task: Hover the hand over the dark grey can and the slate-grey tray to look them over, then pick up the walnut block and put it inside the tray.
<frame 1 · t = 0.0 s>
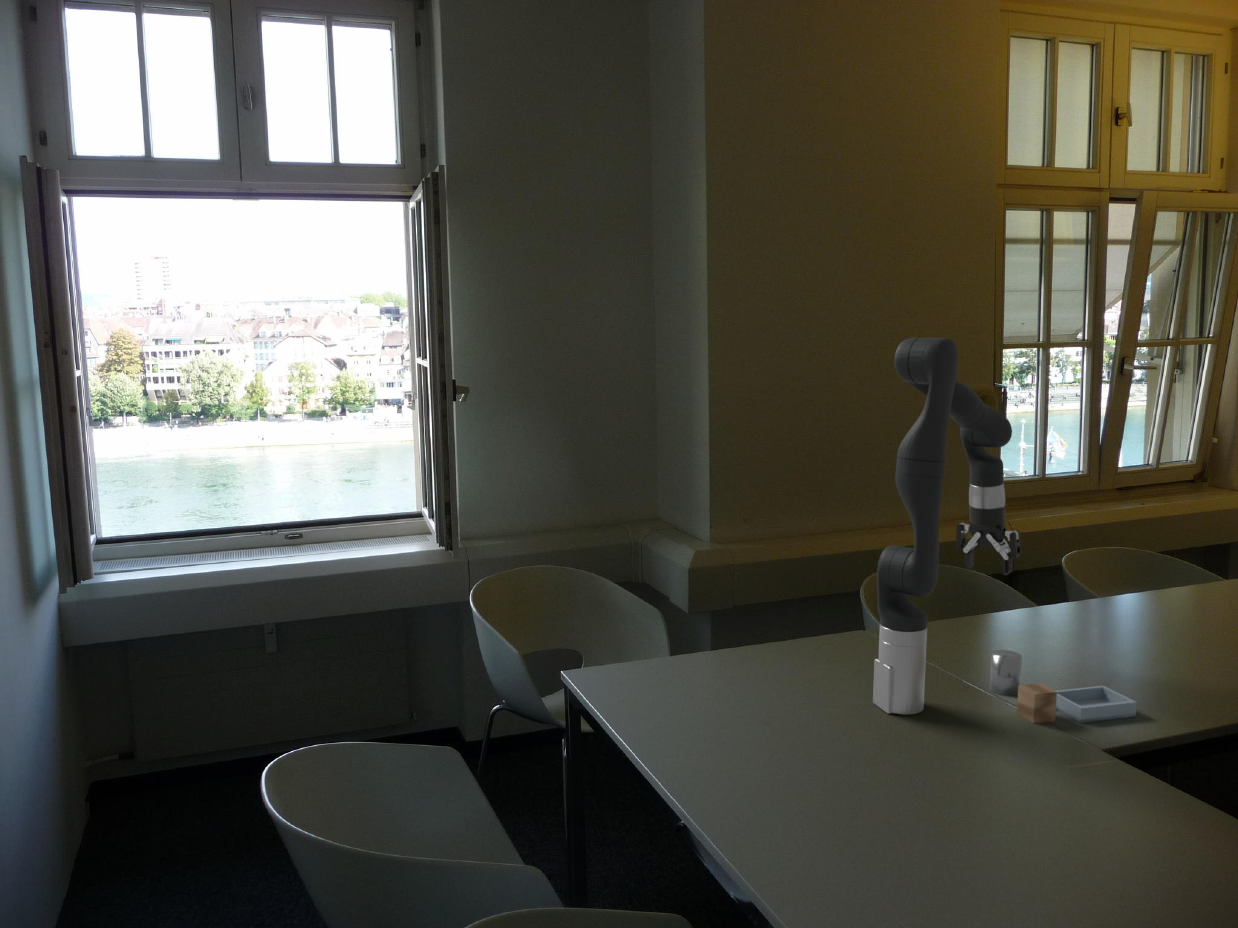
hand: (988, 570, 216), 22 cm above the table, tool pointing down, fingers open, 8 cm apart
slate tray: (1091, 710, 192), on the table
walnut block: (1035, 717, 189), on the table
grey can: (1004, 690, 203), on the table
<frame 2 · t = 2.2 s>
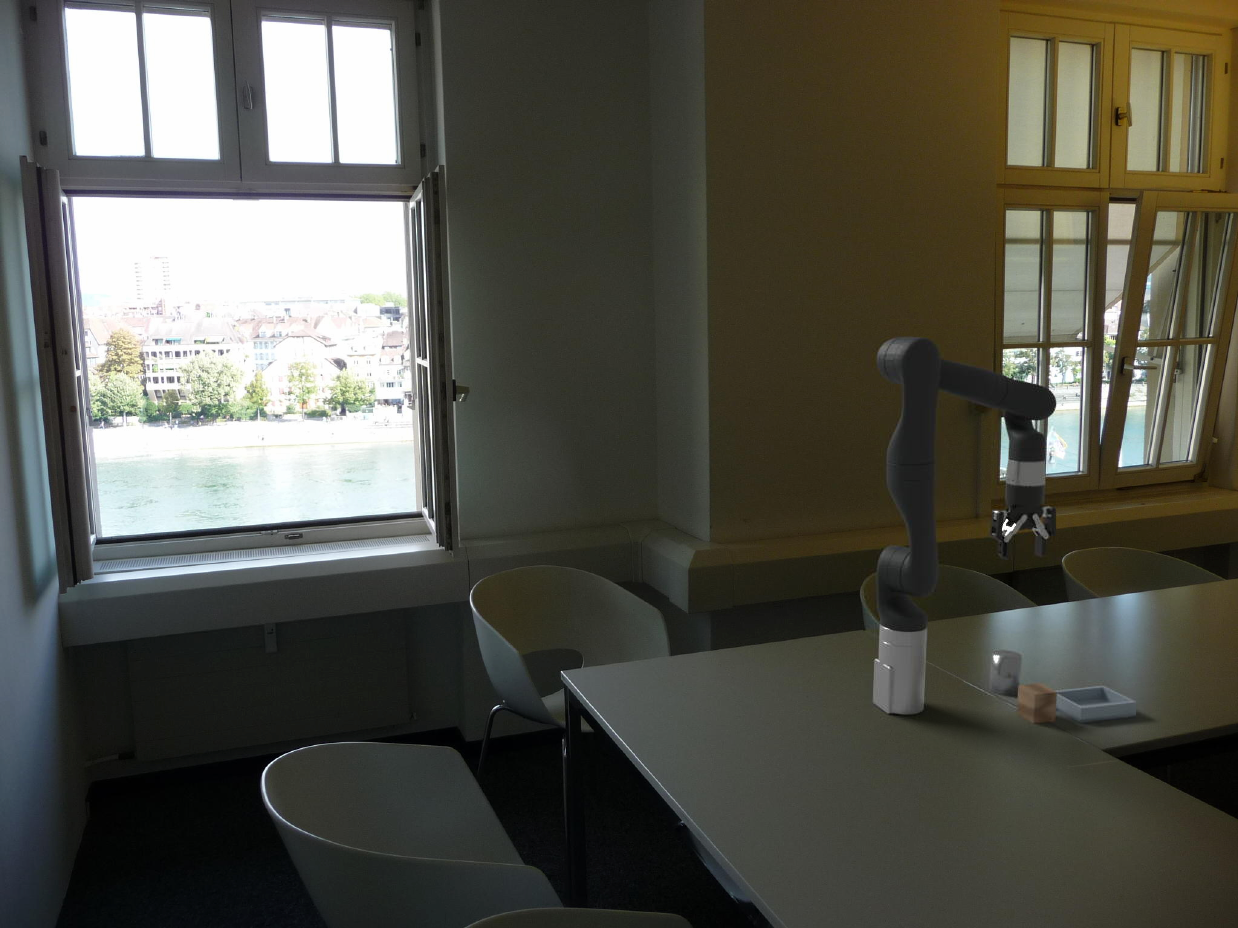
hand: (1021, 557, 200), 29 cm above the table, tool pointing down, fingers open, 8 cm apart
nothing on the table moved.
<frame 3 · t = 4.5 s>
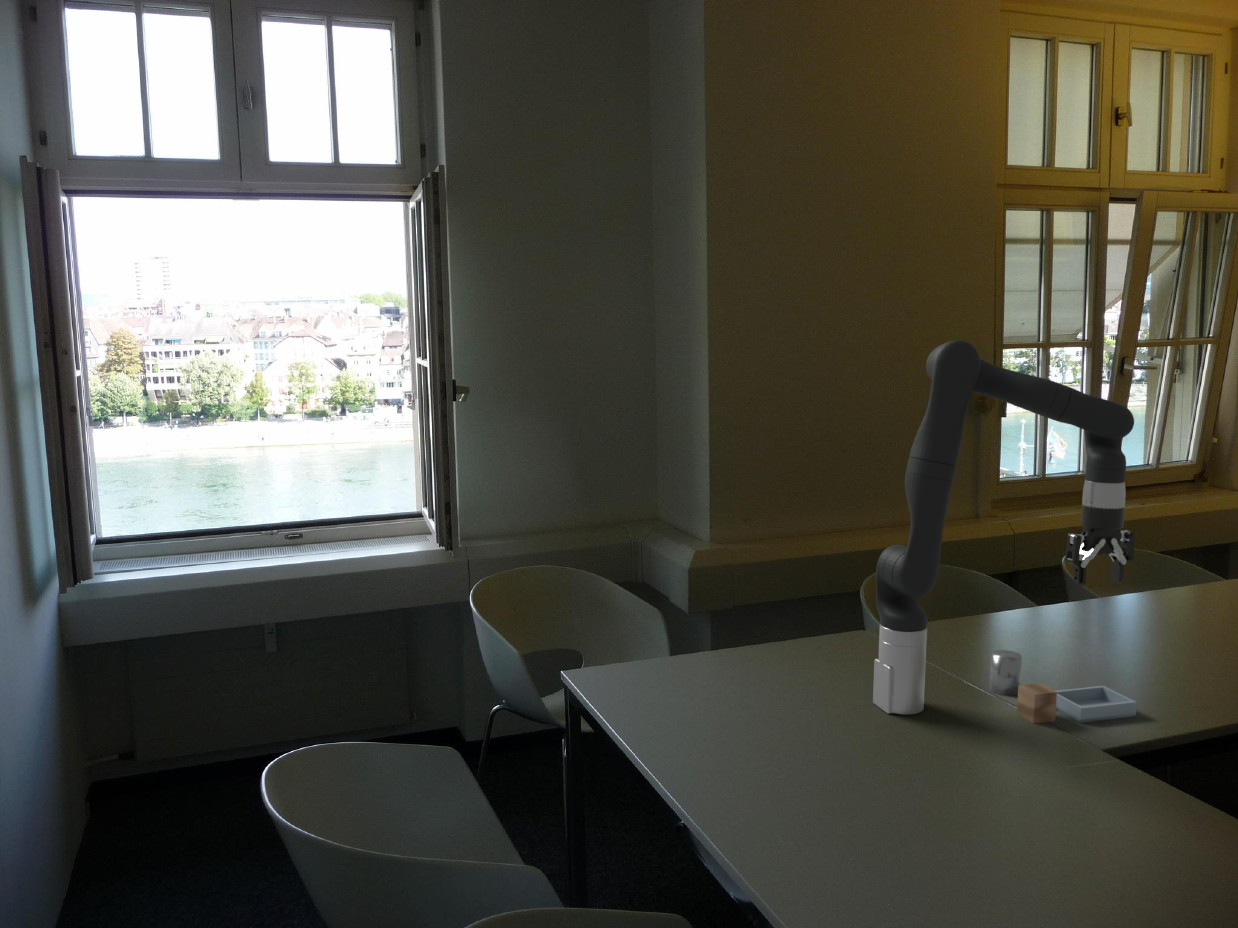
hand: (1098, 583, 189), 26 cm above the table, tool pointing down, fingers open, 8 cm apart
nothing on the table moved.
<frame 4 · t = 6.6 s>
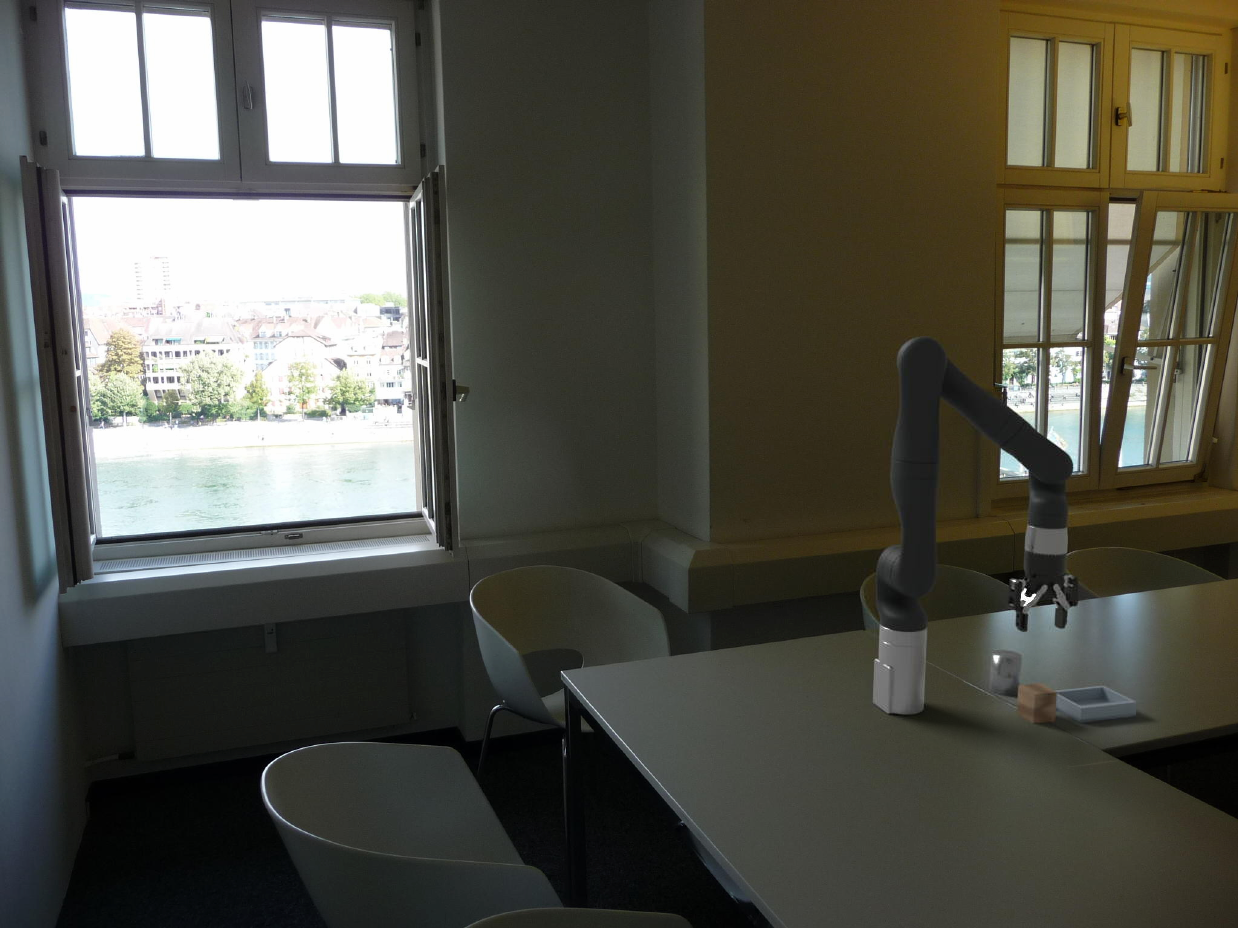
hand: (1041, 629, 186), 18 cm above the table, tool pointing down, fingers open, 8 cm apart
nothing on the table moved.
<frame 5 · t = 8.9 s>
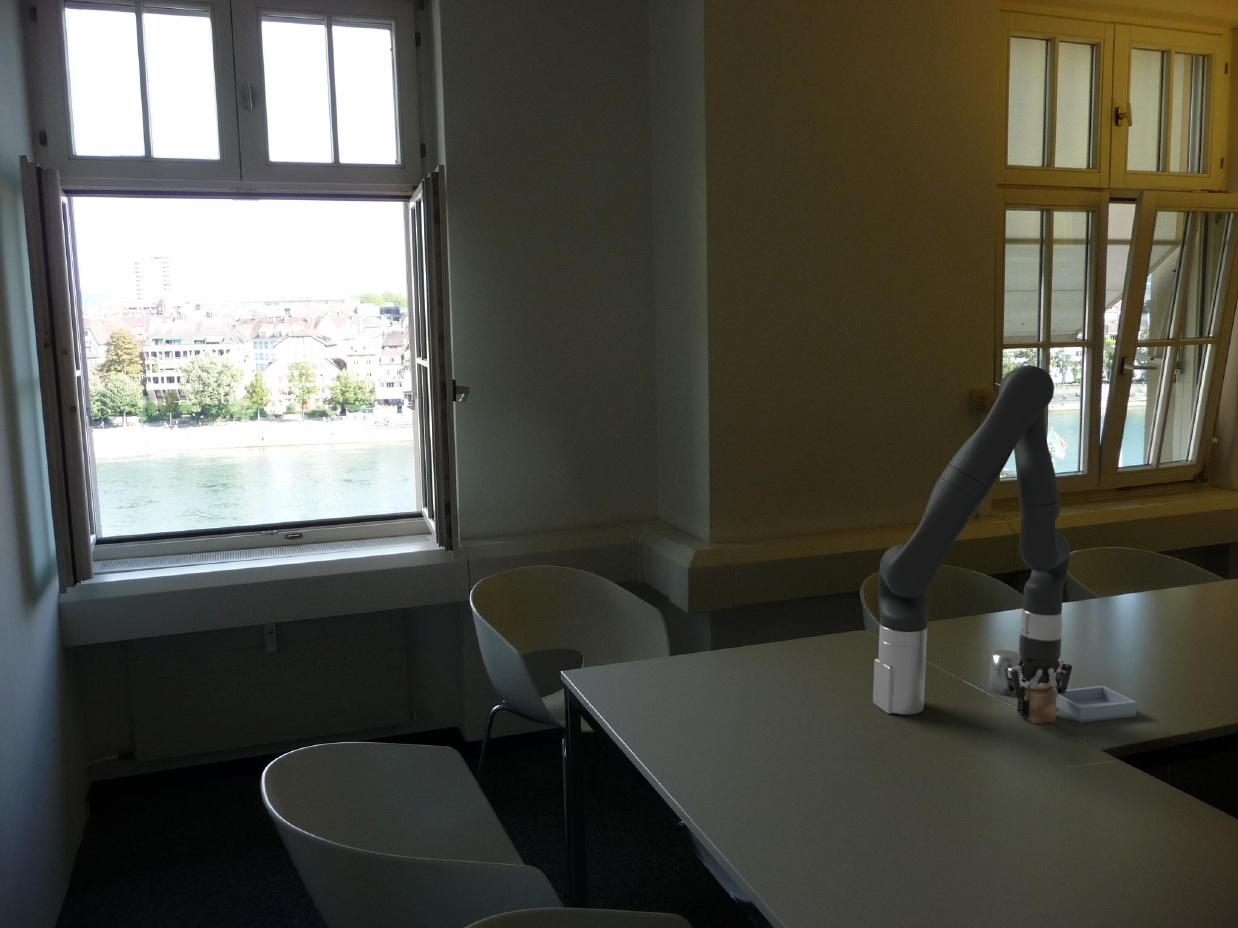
hand: (1035, 714, 189), 0 cm above the table, tool pointing down, fingers closed on walnut block, 5 cm apart
walnut block: (1035, 717, 189), on the table, touching gripper
everything else where it was.
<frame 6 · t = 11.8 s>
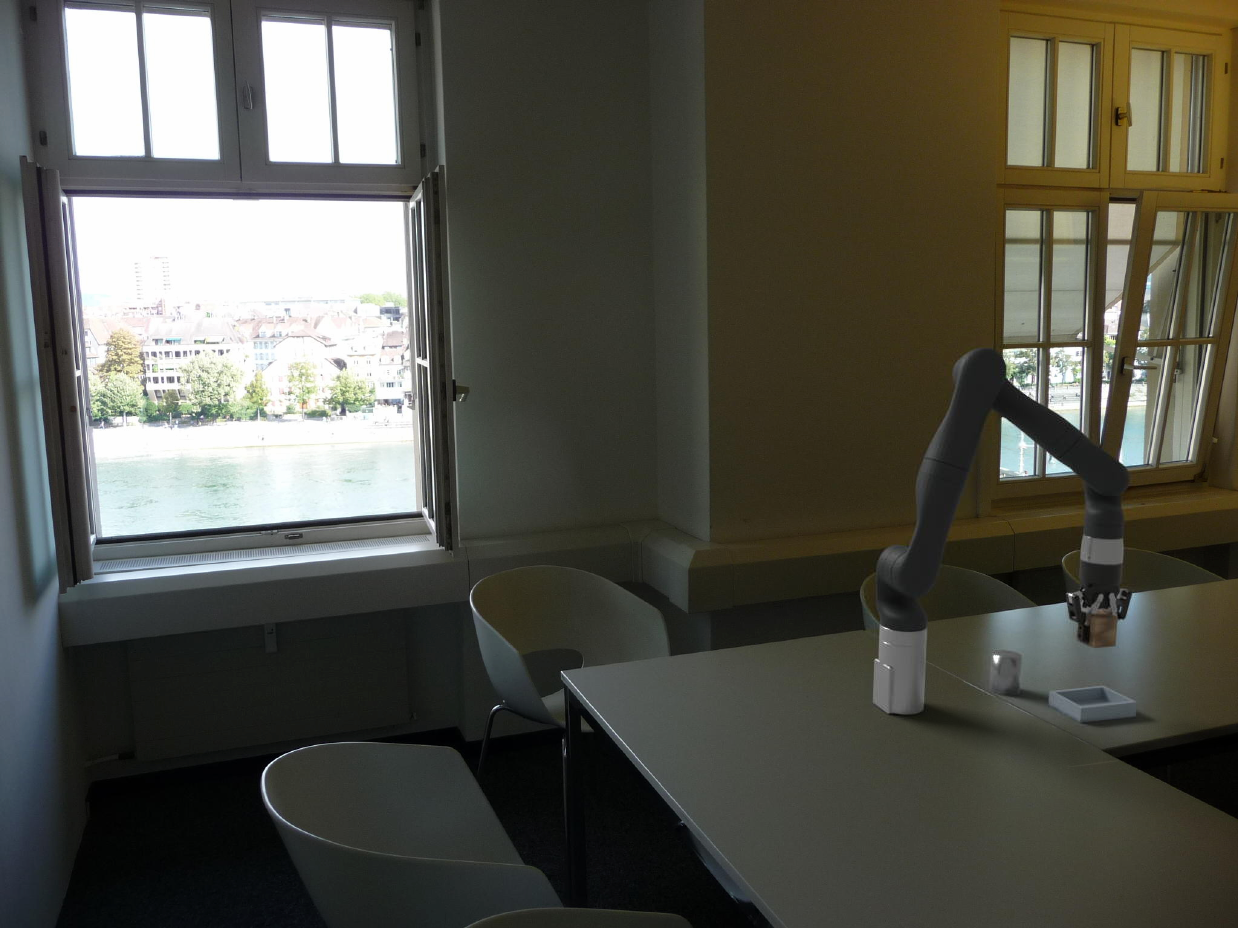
hand: (1096, 640, 190), 15 cm above the table, tool pointing down, fingers closed on walnut block, 5 cm apart
walnut block: (1095, 643, 190), point 14 cm above the table, touching gripper
everything else where it was.
when the fingers open (3 cm above the table, at t = 14.7 s): walnut block drops 2 cm, resting on slate tray.
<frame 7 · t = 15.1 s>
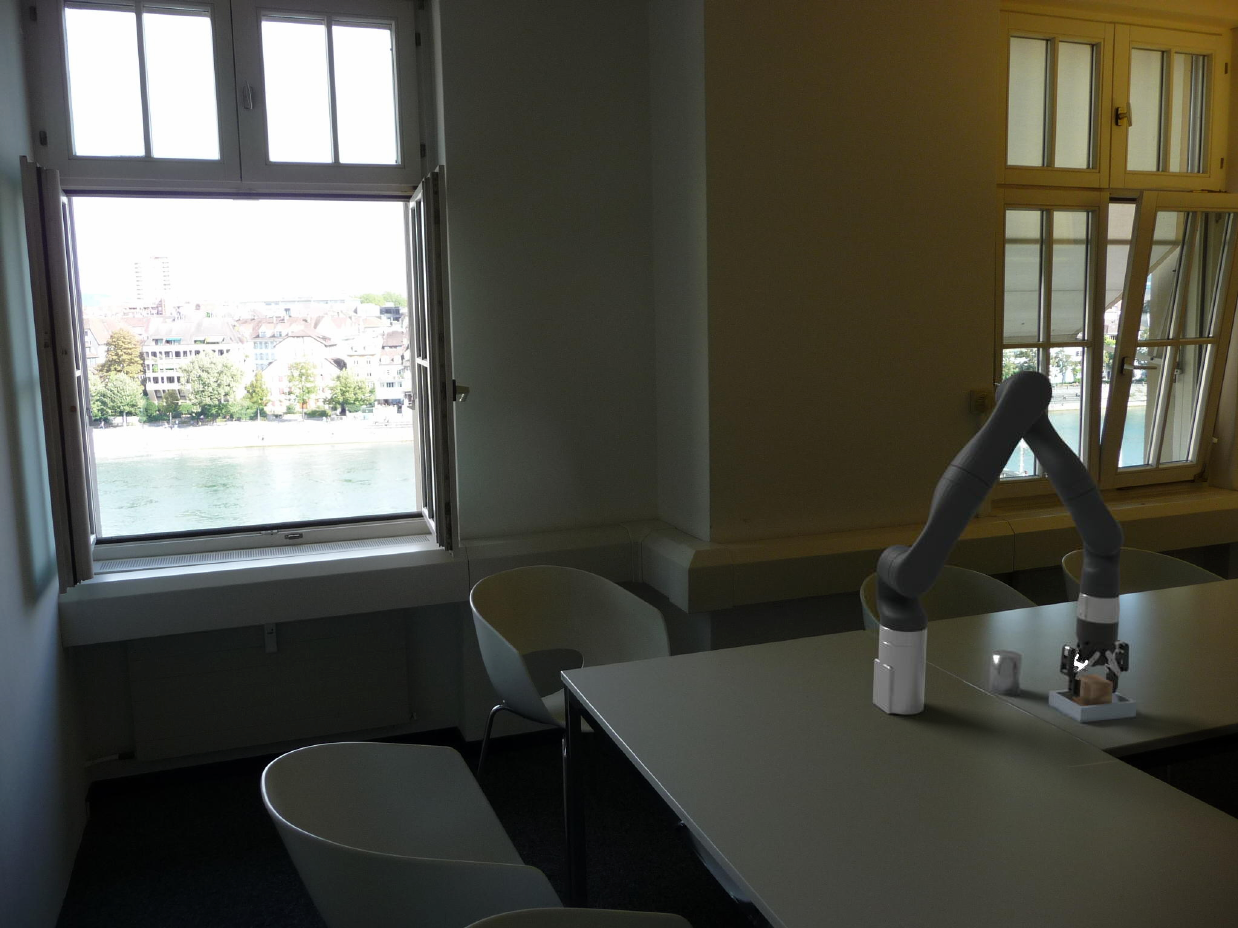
hand: (1092, 693, 192), 4 cm above the table, tool pointing down, fingers open, 8 cm apart
walnut block: (1091, 707, 192), point 1 cm above the table, touching slate tray
everything else where it was.
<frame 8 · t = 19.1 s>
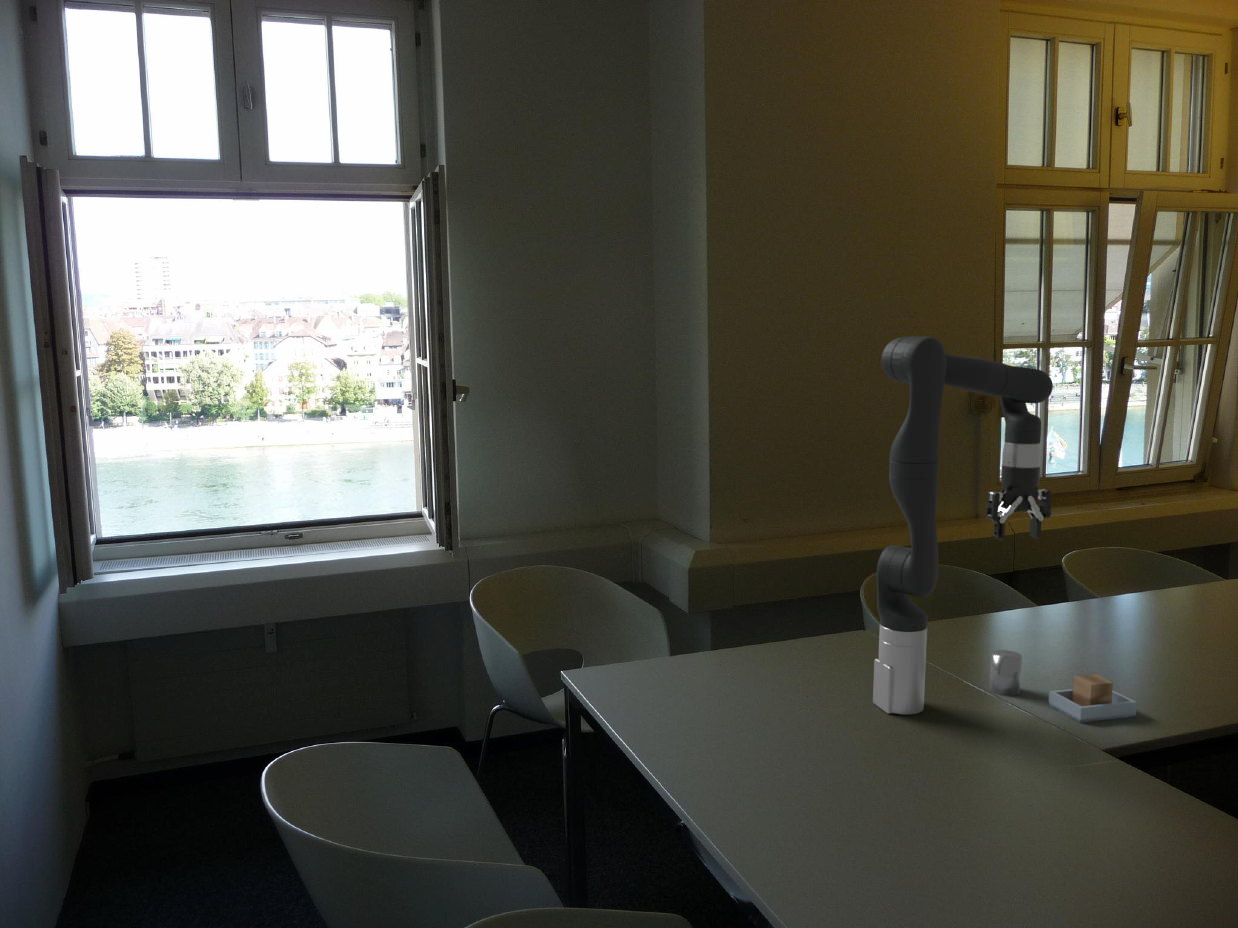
hand: (1017, 538, 204), 32 cm above the table, tool pointing down, fingers open, 8 cm apart
nothing on the table moved.
at the end: walnut block inside the target area on the slate tray (0.1 cm from its centre), point 0.6 cm above the slate tray's base; the gripper is holding nothing; walnut block tilted 0° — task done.
